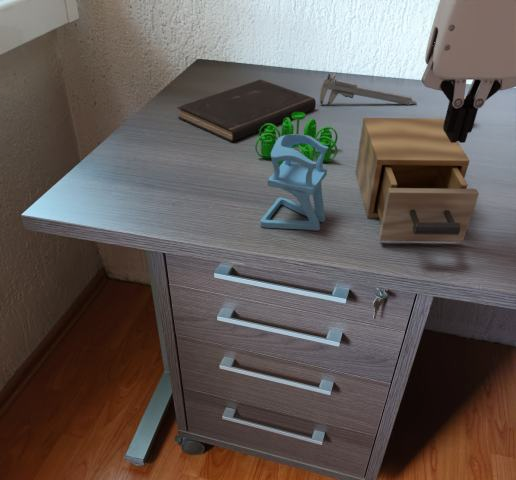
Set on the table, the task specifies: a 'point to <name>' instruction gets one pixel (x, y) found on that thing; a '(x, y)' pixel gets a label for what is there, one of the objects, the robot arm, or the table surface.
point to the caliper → (358, 92)
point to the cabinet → (402, 151)
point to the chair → (297, 182)
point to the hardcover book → (245, 109)
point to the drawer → (424, 203)
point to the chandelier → (287, 129)
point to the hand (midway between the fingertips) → (454, 137)
